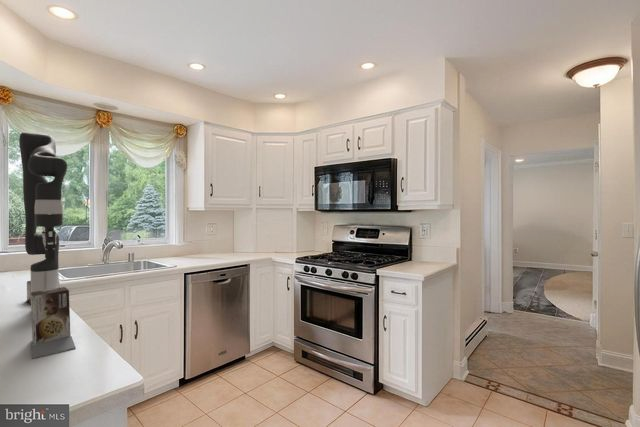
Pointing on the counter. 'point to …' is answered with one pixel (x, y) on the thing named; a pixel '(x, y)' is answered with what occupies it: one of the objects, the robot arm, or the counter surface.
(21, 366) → the counter surface
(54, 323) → the coffee box
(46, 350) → the mat
